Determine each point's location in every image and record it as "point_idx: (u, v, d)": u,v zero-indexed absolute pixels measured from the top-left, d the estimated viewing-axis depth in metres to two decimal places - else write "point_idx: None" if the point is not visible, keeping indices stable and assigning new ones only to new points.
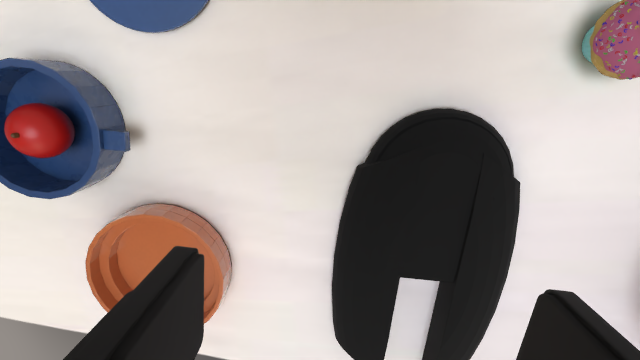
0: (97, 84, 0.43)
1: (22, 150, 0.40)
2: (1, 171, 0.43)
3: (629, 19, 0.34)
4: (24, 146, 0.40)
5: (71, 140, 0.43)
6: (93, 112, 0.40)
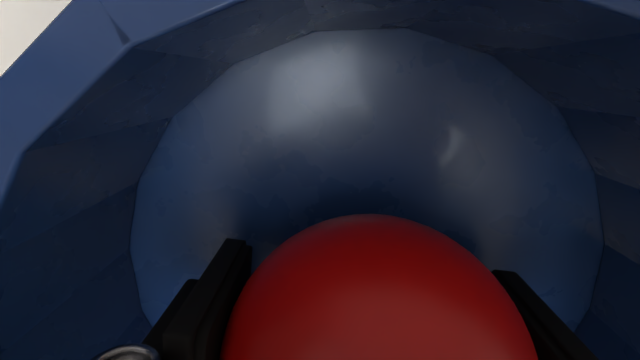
0: None
1: None
2: None
3: None
4: None
5: None
6: None
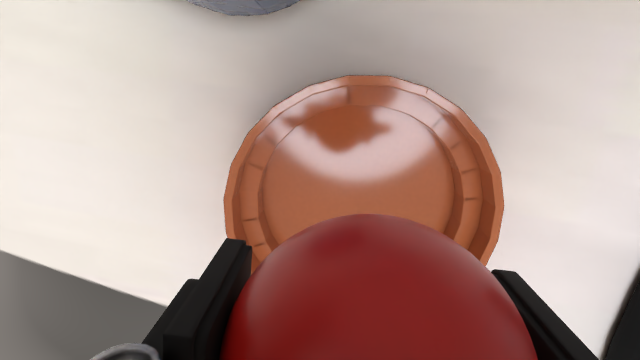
0: None
1: None
2: None
3: None
4: None
5: None
6: None
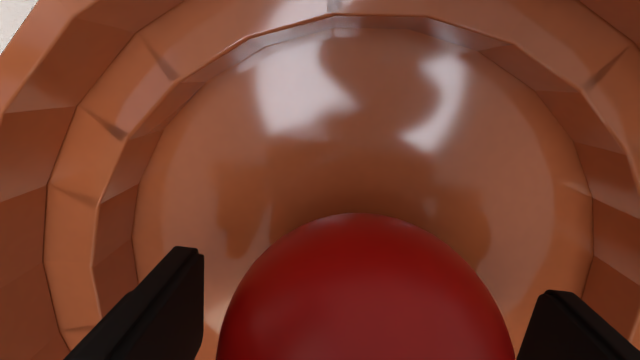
0: None
1: None
2: None
3: None
4: None
5: None
6: None
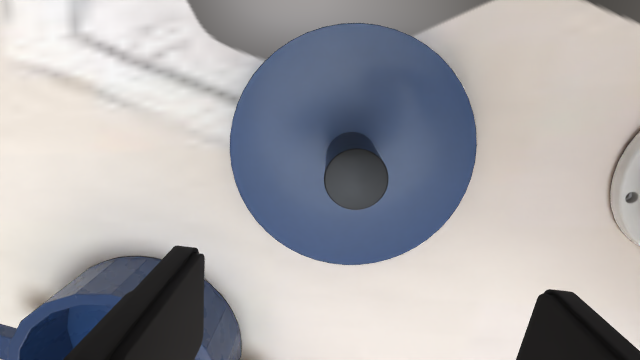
0: (221, 307, 0.29)
1: None
2: None
3: None
4: None
5: None
6: None
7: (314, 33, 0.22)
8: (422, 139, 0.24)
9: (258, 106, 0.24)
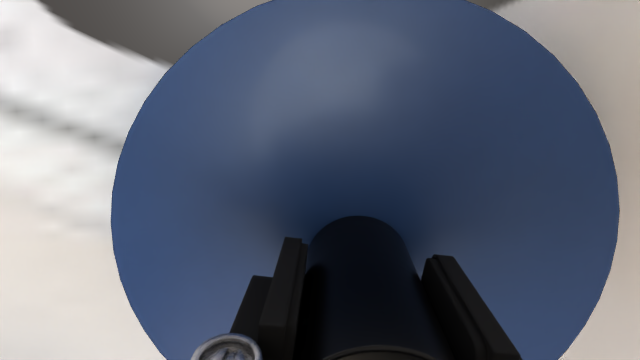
0: None
1: None
2: None
3: None
4: None
5: None
6: None
7: (271, 8, 0.10)
8: (504, 229, 0.12)
9: (161, 166, 0.11)
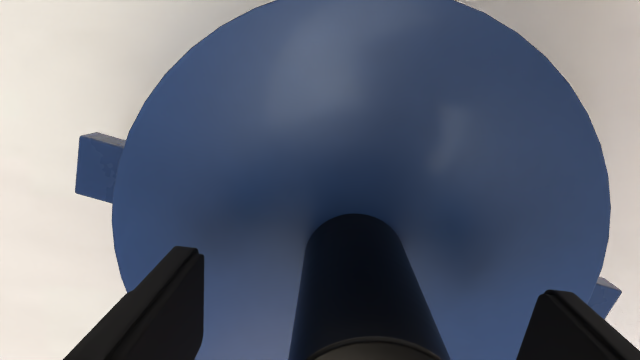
0: None
1: None
2: None
3: None
4: None
5: None
6: None
7: (269, 10, 0.10)
8: (498, 226, 0.12)
9: (162, 164, 0.12)
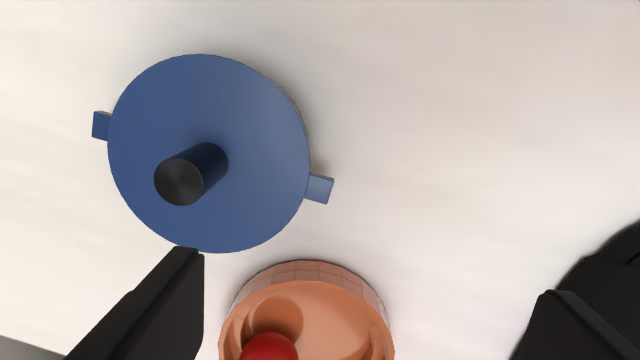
0: (296, 107, 0.33)
1: None
2: None
3: None
4: None
5: None
6: None
7: (165, 62, 0.27)
8: (264, 147, 0.29)
9: (127, 122, 0.29)
